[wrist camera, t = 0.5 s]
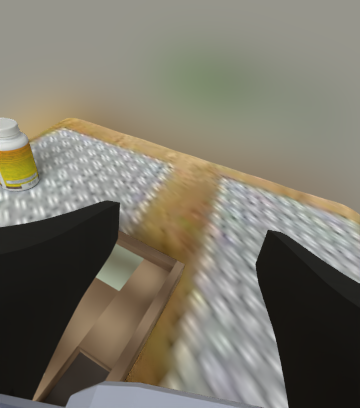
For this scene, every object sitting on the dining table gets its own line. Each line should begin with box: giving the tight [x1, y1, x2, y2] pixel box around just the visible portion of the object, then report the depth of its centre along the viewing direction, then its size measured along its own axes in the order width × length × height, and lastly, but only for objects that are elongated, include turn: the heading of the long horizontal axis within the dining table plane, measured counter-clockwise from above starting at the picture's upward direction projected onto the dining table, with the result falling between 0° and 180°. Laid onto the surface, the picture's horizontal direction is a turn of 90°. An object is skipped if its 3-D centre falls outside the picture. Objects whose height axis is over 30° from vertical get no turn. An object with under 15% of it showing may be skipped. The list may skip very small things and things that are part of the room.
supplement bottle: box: [0, 118, 39, 191], centre depth 34 cm, size 6×6×10 cm
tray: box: [32, 230, 185, 407], centre depth 22 cm, size 22×16×4 cm
